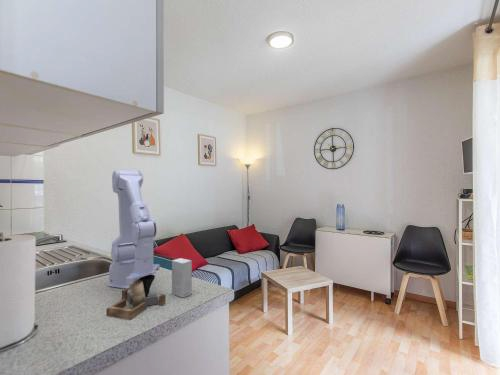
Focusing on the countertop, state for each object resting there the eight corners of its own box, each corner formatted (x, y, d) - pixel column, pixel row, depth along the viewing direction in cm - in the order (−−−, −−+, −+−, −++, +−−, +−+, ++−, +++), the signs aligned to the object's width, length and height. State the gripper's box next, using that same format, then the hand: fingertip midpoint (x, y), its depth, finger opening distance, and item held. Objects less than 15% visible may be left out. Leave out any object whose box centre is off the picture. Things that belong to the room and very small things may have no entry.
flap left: (126, 299, 88) (126, 291, 88) (129, 298, 89) (129, 290, 89) (130, 304, 84) (130, 296, 84) (133, 303, 85) (133, 295, 85)
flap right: (159, 302, 86) (159, 294, 86) (159, 303, 85) (159, 295, 85) (142, 305, 84) (143, 297, 84) (143, 306, 83) (143, 298, 83)
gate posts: (121, 299, 88) (121, 290, 88) (124, 297, 90) (124, 289, 90) (162, 305, 84) (162, 296, 84) (165, 303, 85) (165, 294, 85)
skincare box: (192, 294, 93) (192, 260, 93) (182, 298, 90) (183, 263, 90) (180, 290, 97) (180, 257, 97) (171, 294, 93) (171, 260, 93)
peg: (130, 305, 84) (126, 287, 82) (137, 297, 87) (134, 279, 85) (141, 307, 83) (137, 288, 81) (148, 298, 87) (145, 280, 85)
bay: (106, 315, 77) (106, 307, 77) (123, 305, 84) (123, 297, 84) (130, 319, 75) (130, 311, 75) (146, 308, 82) (146, 301, 82)
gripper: (139, 264, 79) (139, 309, 79) (167, 252, 93) (166, 291, 93) (120, 262, 81) (120, 306, 81) (150, 251, 95) (149, 288, 95)
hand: (143, 298), depth 87 cm, fingers closed
